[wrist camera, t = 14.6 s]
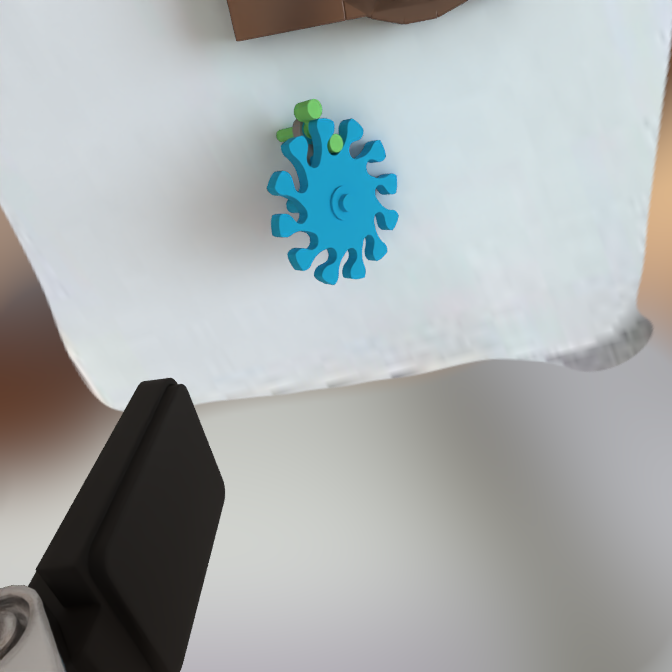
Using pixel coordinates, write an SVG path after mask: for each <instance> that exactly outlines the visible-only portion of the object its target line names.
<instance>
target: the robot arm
mask: <svg viewBox="0 0 672 672" xmlns="http://www.w3.org/2000/svg"><path fill="white" fill-rule="evenodd" d="M224 499H225V486H224V482H223V479H222V476H221V474H220V471H219V469H218V466H217V464H216V461H215V459H214V456H213V453H212V451H211V448H210V446H209V443H208V441H207V438H206V436H205V433H204V431H203V428H202V425H201V423H200V420H199V418H198V415H197V413H196V410H195V408H194V405H193V403H192V400H191V397H190V395H189V392H188V390H187V388H186V386H185V385H183V384H177V382H176V381H175V380H174V379H172V378H166V379H158V380H150V381H143V382H141V383H140V384H139V385H138V387H137V389H136V391H135V392H134V394H133V396H132V398H131V400H130V401H129V403H128V405H127V407H126V409H125V410H124V412H123V414H122V416H121V418H120V419H119V421H118V423H117V425H116V426H115V428H114V430H113V432H112V434H111V436H110V438H109V439H108V441H107V443H106V444H105V447H104V448H103V450H102V452H101V453H100V455H99V457H98V459H97V461H96V462H95V464H94V466H93V468H92V469H91V471H90V473H89V475H88V477H87V479H86V480H85V482H84V484H83V486H82V487H81V489H80V491H79V493H78V495H77V496H76V498H75V500H74V502H73V504H72V505H71V507H70V509H69V511H68V513H67V514H66V516H65V518H64V520H63V521H62V523H61V525H60V527H59V529H58V530H57V532H56V534H55V536H54V538H53V539H52V541H51V543H50V545H49V547H48V548H47V550H46V552H45V554H44V555H43V557H42V559H41V561H40V563H39V564H38V566H37V568H36V573H35V575H34V577H33V578H32V580H31V582H30V584H29V585H28V587H27V586H25V585H11V586H7V587H4V588H0V672H180V670H181V668H182V665H183V661H184V657H185V653H186V649H187V645H188V641H189V638H190V633H191V629H192V625H193V622H194V618H195V613H196V610H197V606H198V602H199V598H200V594H201V590H202V587H203V583H204V578H205V575H206V571H207V567H208V563H209V559H210V555H211V551H212V547H213V543H214V539H215V535H216V531H217V528H218V524H219V519H220V516H221V512H222V507H223V504H224Z"/></svg>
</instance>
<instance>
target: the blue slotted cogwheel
mask: <svg viewBox="0 0 672 672" xmlns="http://www.w3.org/2000/svg"><path fill="white" fill-rule="evenodd" d="M321 114H322V107H321V104H320V102H319V101H318V100H316V99H311V100H308V101H304V102H301V103H298V104H296V106H295V108H294V115H295V117H296V120H295V121H294V123H293V127H291V128H286V129H282V130H279V131H278V132H277V139H278V140H279V141H280V142H284V143H283V144H282V145H281V150H282V153H283V155H284V156H285V157H286V158H287V159H289V161H290V162H291V163H292V164H293V166H294V167H295V169H296V171H297V175H298V178H299V182H300V189H299V191H298V192H297V191H296V189H295V187H294V183H293V180H292V177H291V175H290V174H289V173H288V172H286V171H277V172H274V173H273V174H272V176H271V178H270V180H269V182H268V186H267V190H268V192H269V193H270V194H272V195H274V196H282V197H285V198H287V199H288V201H287V203H286V207H287V209H288V211H289V212H291V213H299V219H298V221H297V222H296V221H295V220H294V219H293V218H292V217H291V216H290V215H289V214H274V215H273V216H272V219H271V229H272V235H273V236H275V237H289V236H291V235H292V234H293V233H295V232H298V231H302V232H305V233H307V234H308V235H309V237H310V245H309V246H308V248H306V249H305V248H293V249H291V250H290V251H289V252H288V254H287V255H288V259H289V261H290V263H291V265H292V266H293V268H294V269H295V270H301V271H305V270H307V269H309V268H310V266H311V264H312V262H313V260H314V258H315V257H316V256H317V255H318V254H319V253H320V252H321V251H323V250H325V249H327V250H328V253H329V256H328V260H327V261H326V262H325V263H323V264H321V265H319V266H318V267H317V268H316V269H315V272H314V277H315V278H316V279H317V280H319V281H320V282H323V283H325V284H331V285H335V284H336V282H337V280H338V276H339V266H340V262H341V260H342V258H343V256H344V254H345V253H346V251H347V250H348V252H349V258H348V260H347V262H346V263H345V265H344V267H343V270H342V274H343V277H344V278H350V279H360V278H364V277H365V273H366V269H365V266H364V264H363V260H362V246H363V240H364V238H365V239H366V246H365V256H366V258H367V259H368V260H374V261H378V260H380V259H381V258H382V257H383V256H384V255H385V254H386V253H387V247H386V245H385V243H383V242H382V241H381V240H380V238H379V237H378V235H377V233H376V229H375V225H374V216H376V220H377V224H378V227H379V228H380V229H382V230H393V229H394V227H395V225H396V223H397V220H398V216H399V215H398V213H397V212H396V211H395V210H388V209H386V208H384V207H383V206H382V205H381V204H380V203H379V201H378V200H377V198H376V196H375V189H377V190H378V192H379V193H380V194H382V195H386V194H395V193H396V190H397V177H396V175H395V174H382V175H380V176H379V177H377V178H375V177H373V176H370V175H369V174H368V172H367V169H366V165H367V162H369V163H373V162H381V161H383V160H384V159H385V157H386V155H385V150H384V147H383V145H382V143H381V141H380V140H376V141H370V142H367V143H366V144H365V145H364V148H363V150H362V151H361V153H360V154H359V155H358V156H357V157H355V158H352V157H351V156H350V153H349V147H350V144H351V143H352V142H354V141H358V140H360V139H361V137H362V135H363V128H362V127H361V125H360V124H359V123H358V122H356V121H355V120H354V119H347V120H343V121H342V122H341V123H340V125H339V135H338V134H333V133H334V122H333V121H332V120H330V119H325V118H321V119H317V118H319V117H320V116H321ZM330 153H331V154H330Z"/></svg>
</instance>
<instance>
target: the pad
mask: <svg viewBox="0 0 672 672" xmlns="http://www.w3.org/2000/svg"><path fill="white" fill-rule="evenodd" d="M466 1H468V0H227V3H228V7H229V12H230V16H231V20H232V24H233V29H234V33H235V37H236V41H243V40H248V39H253V38H258V37H264V36H269V35H274V34H279V33H284V32H289V31H294V30H300V29H305V28H310V27H315V26H320V25H325V24H330V23H336V22H341V21H345V20H351V19H356V18H361V17H368V18H371V19H374V20H380V21H386V22H391V23H397V24H409V23H415V22H420V21H425V20H430V19H435V18H437V17H440V16H442V15H444V14H445V13H447V12H449V11H451V10H452V9H454V8H456V7H458V6H459V5H461V4H463V3H464V2H466Z"/></svg>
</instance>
